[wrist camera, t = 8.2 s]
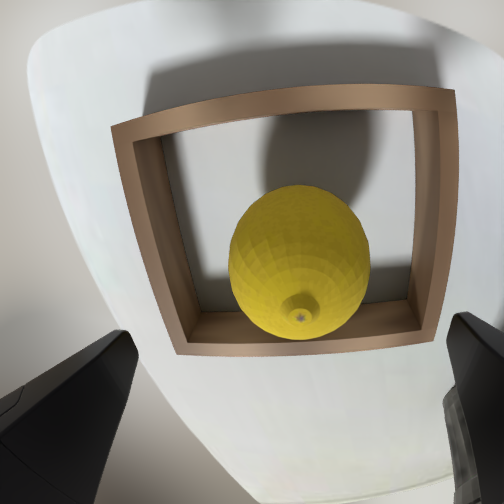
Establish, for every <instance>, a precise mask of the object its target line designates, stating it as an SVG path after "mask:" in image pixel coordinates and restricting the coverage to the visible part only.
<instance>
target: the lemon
mask: <svg viewBox="0 0 504 504" xmlns="http://www.w3.org/2000/svg"><path fill="white" fill-rule="evenodd" d="M228 269H229V276H230V281H231V287H232V291H233V294H234V296H235V298H236V300H237V302H238V304H239V306H240V308H241V309H242V311H243V312H244V313H245V314H246V315H247V316H248V317H249V319H250V320H251V321H252V322H253V323H254V324H256V325H257V326H259V327H260V328H261V329H263V330H264V331H266V332H269V333H271V334H273V335H276V336H278V337H282V338H287V339H292V340H306V339H311V338H317V337H320V336H322V335H325V334H327V333H330V332H332V331H334V330H336V329H337V328H338V327H340V326H341V325H343V324H344V323H345V322H346V321H347V320H348V319H349V318H350V317H351V316H352V315H353V314H354V313H355V311H356V310H357V309H358V307H359V305H360V303H361V301H362V299H363V298H364V295H365V293H366V290H367V285H368V281H369V276H370V253H369V244H368V240H367V238H366V235H365V233H364V230H363V228H362V225H361V223H360V221H359V219H358V218H357V217H356V215H355V214H354V213H353V211H352V210H351V209H350V208H349V206H348V205H347V204H346V203H344V202H343V201H342V200H340V199H339V198H338V197H336V196H335V195H334V194H332V193H330V192H328V191H325V190H323V189H320V188H317V187H314V186H306V185H292V186H285V187H281V188H278V189H276V190H273V191H271V192H269V193H266V194H265V195H263V196H262V197H261V198H259V199H258V200H257V201H256V202H254V203H253V204H252V205H251V206H250V207H249V208H248V210H247V211H246V212H245V213H244V215H243V216H242V217H241V219H240V220H239V222H238V224H237V227H236V229H235V232H234V234H233V237H232V239H231V243H230V251H229V261H228Z"/></svg>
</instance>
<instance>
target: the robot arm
mask: <svg viewBox="0 0 504 504" xmlns="http://www.w3.org/2000/svg"><path fill="white" fill-rule="evenodd" d="M446 343H447V348H448V352H449V357H450V361H451V365H452V370H453V374H454V379H455V384H456V388H457V392H458V396H459V400H460V403H461V406H462V410H463V414H464V417H465V421H466V425H467V429H468V433H469V437H470V441H471V446H472V450H473V455H474V460H475V465H476V471H477V477H478V483H479V490H480V497H481V504H504V333H503V332H501V331H499V330H498V329H496V328H495V327H493V326H491V325H490V324H488V323H486V322H485V321H483V320H481V319H480V318H478V317H476V316H474V315H473V314H471V313H469V312H460V313H456V314H454V316H453V318H452V321H451V325H450V328H449V331H448V335H447V340H446ZM138 358H139V354H138V350H137V348H136V346H135V343H134V341H133V339H132V337H131V335H130V333H129V332H128V331H126V330H114V331H112V332H110V333H109V334H107V335H105V336H104V337H102V338H100V339H99V340H97V341H95V342H94V343H92V344H90V345H89V346H87V347H85V348H84V349H82V350H81V351H79V352H77V353H76V354H74V355H72V356H71V357H69V358H67V359H66V360H64V361H62V362H61V363H59V364H57V365H56V366H54V367H53V368H51V369H49V370H48V371H46V372H44V373H43V374H41V375H39V376H38V377H36V378H34V379H33V380H31V381H30V382H28V383H26V384H25V385H23V386H21V387H20V388H18V389H16V390H15V391H13V392H11V393H9V394H8V395H6V396H4V397H3V398H1V399H0V504H94V501H95V497H96V494H97V491H98V487H99V484H100V481H101V478H102V474H103V471H104V468H105V464H106V462H107V459H108V455H109V452H110V449H111V446H112V443H113V440H114V437H115V435H116V431H117V429H118V426H119V423H120V420H121V417H122V414H123V412H124V409H125V406H126V403H127V400H128V396H129V393H130V389H131V384H132V381H133V377H134V373H135V369H136V366H137V362H138Z"/></svg>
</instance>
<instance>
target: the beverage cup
mask: <svg viewBox="0 0 504 504" xmlns="http://www.w3.org/2000/svg"><path fill="white" fill-rule="evenodd" d="M443 407H444V413H445V422H446V427H447V432H448V438H449V444H450V450H451V457H452V464H453V472H454V481H455V493H454V504H481V497H480V490H479V483H478V477H477V471H476V465H475V460H474V455H473V450H472V446H471V441H470V437H469V433H468V429H467V425H466V421H465V417H464V414H463V410H462V406H461V403H460V400H459V396H458V392H457V388H456V386H455V387H454V388H453V389H451V390H450V391H449V392H448V393H447V395H446V396H445V398H444V399H443Z"/></svg>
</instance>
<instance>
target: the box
mask: <svg viewBox="0 0 504 504" xmlns="http://www.w3.org/2000/svg"><path fill="white" fill-rule="evenodd" d="M345 110H408V111H412V114H413V126H414V141H415V170H416V194H415V223H414V239H413V251H412V262H411V271H410V279H409V287H408V294H407V300H398V301H389V302H379V303H369V304H360V305H359V307H358V309H357V310H356V311H355V313H354V314H353V315H352V316H351V317H350V318H349V319H348V320H347V321H346V322H345V323H344V324H343V325H341V326H340V327H338V328H337V329H336V330H334V331H332V332H330V333H327V334H325V335H322V336H320V337H317V338H311V339H306V340H292V339H287V338H282V337H278V336H276V335H273V334H271V333H269V332H266V331H264V330H263V329H261V328H260V327H259V326H257V325H256V324H254V323H253V322H252V321H251V320H250V319H249V317H248V316H247V315H246V314H245V313H244V312H243V311H237V312H201V309H200V306H199V302H198V298H197V295H196V291H195V287H194V284H193V280H192V276H191V272H190V269H189V265H188V261H187V257H186V253H185V249H184V245H183V241H182V237H181V233H180V228H179V224H178V220H177V215H176V211H175V207H174V202H173V198H172V193H171V188H170V184H169V179H168V174H167V169H166V164H165V159H164V154H163V148H162V143H161V138H160V136H163V135H168V134H172V133H176V132H181V131H185V130H190V129H195V128H200V127H205V126H210V125H216V124H222V123H228V122H234V121H240V120H247V119H254V118H261V117H269V116H278V115H287V114H298V113H310V112H324V111H345ZM111 132H112V137H113V143H114V148H115V153H116V158H117V163H118V167H119V172H120V176H121V181H122V185H123V189H124V193H125V197H126V201H127V205H128V209H129V213H130V217H131V221H132V224H133V228H134V232H135V235H136V239H137V242H138V245H139V249H140V252H141V256H142V259H143V262H144V265H145V268H146V272H147V275H148V278H149V281H150V284H151V287H152V290H153V293H154V296H155V299H156V301H157V304H158V307H159V310H160V313H161V315H162V318H163V321H164V324H165V326H166V329H167V331H168V334H169V337H170V339H171V342H172V344H173V347H174V349H175V352H176V354H177V355H194V356H228V357H264V356H297V355H317V354H331V353H344V352H355V351H365V350H374V349H383V348H391V347H398V346H405V345H412V344H419V343H425V342H431V341H433V340H434V337H435V333H436V330H437V326H438V322H439V318H440V314H441V310H442V305H443V301H444V296H445V292H446V287H447V281H448V276H449V270H450V264H451V258H452V251H453V244H454V236H455V227H456V216H457V203H458V183H459V140H458V121H457V108H456V98H455V90H452V89H444V88H435V87H425V86H412V85H394V84H334V85H315V86H302V87H291V88H281V89H272V90H264V91H257V92H250V93H244V94H238V95H232V96H226V97H221V98H215V99H210V100H205V101H201V102H196V103H192V104H187V105H183V106H179V107H175V108H171V109H167V110H163V111H160V112H156V113H152V114H149V115H145V116H142V117H139V118H135V119H132V120H129V121H126V122H123V123H120V124H117V125H114V126H111Z"/></svg>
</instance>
